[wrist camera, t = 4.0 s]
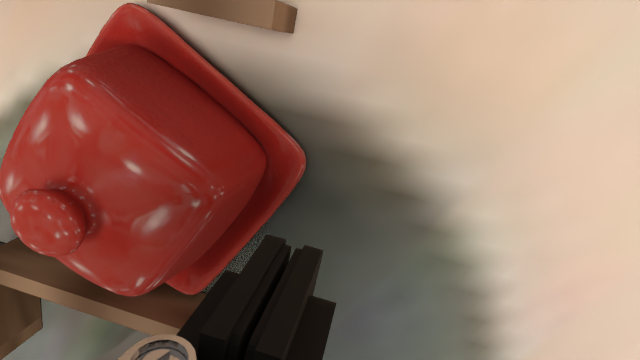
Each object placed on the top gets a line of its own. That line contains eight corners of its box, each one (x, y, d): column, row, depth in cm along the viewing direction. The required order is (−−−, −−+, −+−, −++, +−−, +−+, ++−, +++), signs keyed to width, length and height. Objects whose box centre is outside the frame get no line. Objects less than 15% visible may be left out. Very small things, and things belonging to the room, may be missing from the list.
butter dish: (326, 155, 18) (269, 233, 11) (201, 291, 23) (94, 420, 15) (142, -10, 18) (-67, -58, 10) (48, 163, 22) (-149, 226, 14)
